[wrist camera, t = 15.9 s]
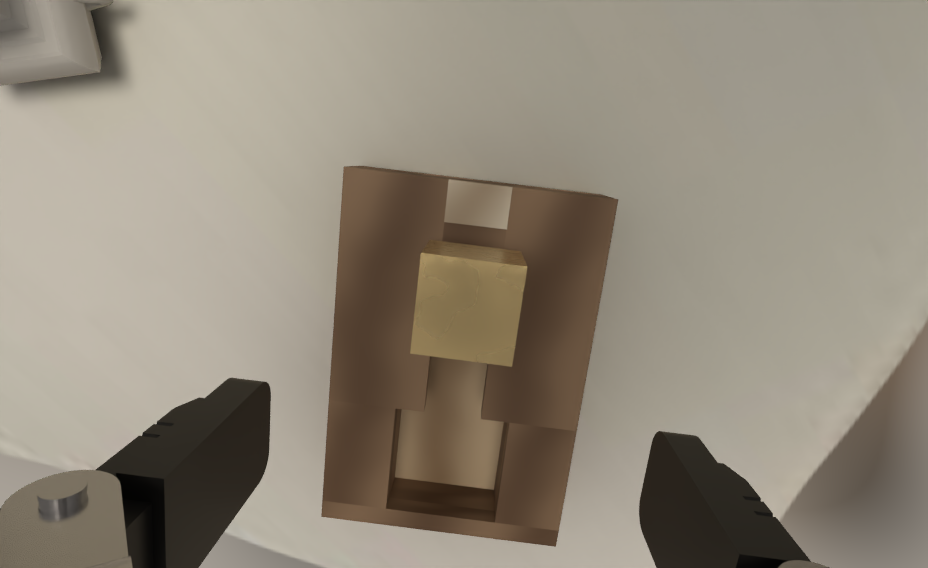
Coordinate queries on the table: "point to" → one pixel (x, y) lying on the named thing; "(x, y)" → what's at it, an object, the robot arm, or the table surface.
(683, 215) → the table surface
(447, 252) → the brass keyhole peg
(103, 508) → the robot arm
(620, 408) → the table surface
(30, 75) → the stamp
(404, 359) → the keyhole plate
